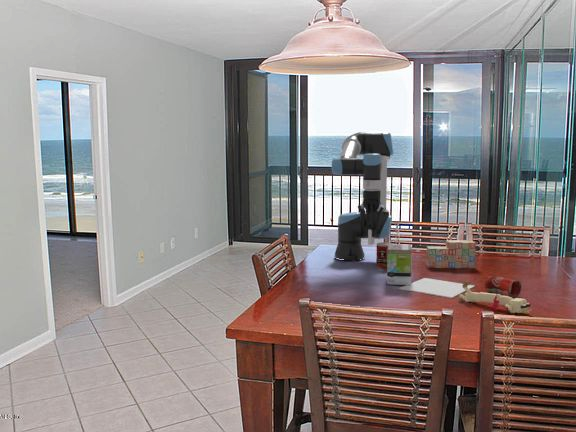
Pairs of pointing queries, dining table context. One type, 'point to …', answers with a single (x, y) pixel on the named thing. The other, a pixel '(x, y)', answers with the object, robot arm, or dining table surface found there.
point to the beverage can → (503, 286)
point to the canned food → (382, 254)
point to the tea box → (399, 264)
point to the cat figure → (496, 300)
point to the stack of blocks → (452, 255)
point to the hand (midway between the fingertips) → (371, 244)
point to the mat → (436, 287)
